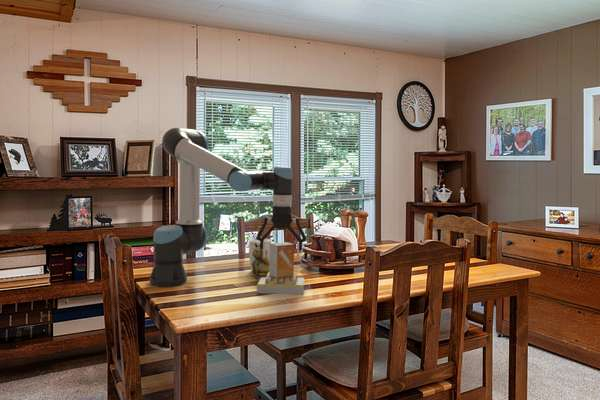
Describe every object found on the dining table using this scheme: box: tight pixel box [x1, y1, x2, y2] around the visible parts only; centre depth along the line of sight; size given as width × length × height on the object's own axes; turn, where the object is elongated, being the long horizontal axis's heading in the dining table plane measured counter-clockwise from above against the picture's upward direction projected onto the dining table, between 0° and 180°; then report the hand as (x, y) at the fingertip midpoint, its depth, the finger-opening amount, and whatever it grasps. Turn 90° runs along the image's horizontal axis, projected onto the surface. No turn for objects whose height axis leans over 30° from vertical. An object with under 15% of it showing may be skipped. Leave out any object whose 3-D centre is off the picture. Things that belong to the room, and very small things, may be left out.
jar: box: [248, 238, 273, 273], centre depth 232 cm, size 11×10×15 cm
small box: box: [269, 241, 295, 278], centre depth 200 cm, size 8×6×13 cm
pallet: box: [265, 272, 298, 284], centre depth 201 cm, size 12×12×2 cm
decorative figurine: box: [251, 243, 269, 280], centre depth 222 cm, size 10×8×15 cm
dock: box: [256, 277, 305, 295], centre depth 201 cm, size 18×14×4 cm
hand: (280, 258), depth 200 cm, fingers open, 13 cm apart
